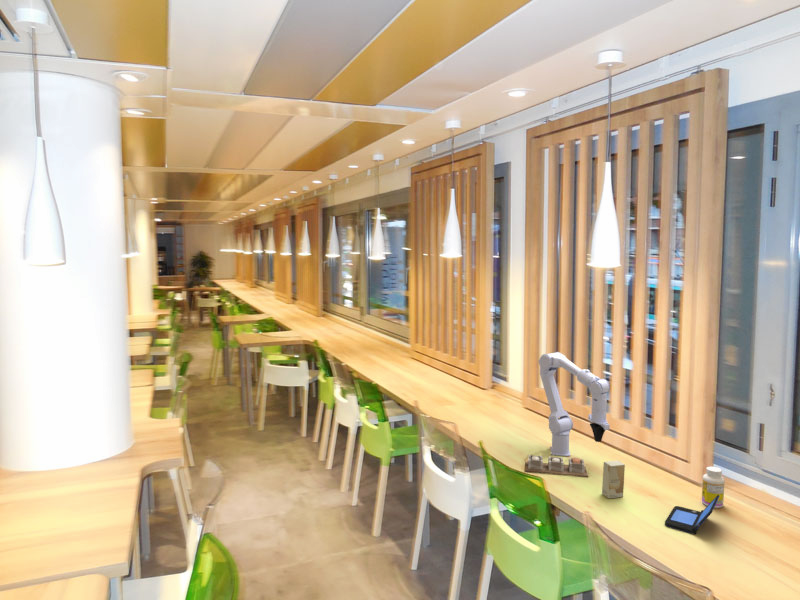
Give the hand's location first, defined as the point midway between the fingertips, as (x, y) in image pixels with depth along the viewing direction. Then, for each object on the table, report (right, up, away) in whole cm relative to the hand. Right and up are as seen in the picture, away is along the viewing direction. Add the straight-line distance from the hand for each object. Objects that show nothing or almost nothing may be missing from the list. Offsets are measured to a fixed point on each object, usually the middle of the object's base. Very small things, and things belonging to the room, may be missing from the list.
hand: (597, 441), depth 229 cm
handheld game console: (+14, -15, -47) cm, 51 cm away
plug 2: (-18, -10, -3) cm, 21 cm away
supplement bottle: (+28, -14, -34) cm, 46 cm away
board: (-18, -11, -3) cm, 21 cm away
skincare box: (-4, -13, -27) cm, 30 cm away
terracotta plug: (-11, -9, -5) cm, 15 cm away
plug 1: (-26, -10, -1) cm, 28 cm away
